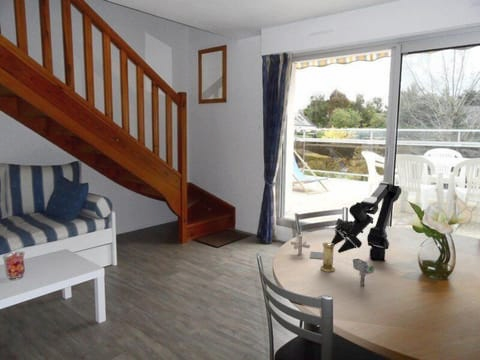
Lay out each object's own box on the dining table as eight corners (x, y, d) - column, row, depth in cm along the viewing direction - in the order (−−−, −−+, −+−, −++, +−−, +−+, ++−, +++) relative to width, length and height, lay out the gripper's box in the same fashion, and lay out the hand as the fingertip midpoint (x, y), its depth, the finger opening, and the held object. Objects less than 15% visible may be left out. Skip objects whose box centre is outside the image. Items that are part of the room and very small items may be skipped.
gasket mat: (327, 253, 188) (327, 252, 188) (327, 259, 180) (327, 259, 180) (310, 252, 190) (310, 251, 190) (309, 258, 182) (309, 257, 182)
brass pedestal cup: (334, 267, 170) (335, 242, 168) (334, 272, 164) (336, 247, 162) (320, 266, 171) (321, 241, 170) (320, 271, 165) (321, 245, 164)
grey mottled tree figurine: (368, 291, 146) (370, 267, 144) (350, 281, 155) (351, 258, 153) (374, 289, 147) (375, 265, 146) (355, 280, 156) (356, 257, 155)
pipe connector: (304, 259, 180) (304, 239, 179) (286, 254, 186) (287, 235, 185) (313, 253, 188) (313, 234, 187) (296, 249, 194) (296, 231, 193)
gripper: (339, 208, 174) (316, 231, 174) (356, 217, 155) (330, 243, 156) (354, 223, 176) (331, 246, 176) (372, 235, 157) (347, 260, 158)
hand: (334, 248), depth 166 cm, fingers open, 9 cm apart
